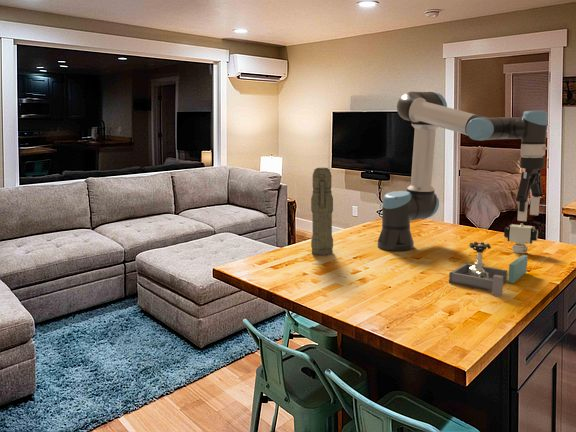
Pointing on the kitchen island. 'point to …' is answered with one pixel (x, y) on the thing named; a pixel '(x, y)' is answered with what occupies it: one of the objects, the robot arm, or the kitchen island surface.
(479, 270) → the valve
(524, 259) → the gate
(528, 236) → the pneumatic valve
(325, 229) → the grey carved statue
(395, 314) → the kitchen island surface
